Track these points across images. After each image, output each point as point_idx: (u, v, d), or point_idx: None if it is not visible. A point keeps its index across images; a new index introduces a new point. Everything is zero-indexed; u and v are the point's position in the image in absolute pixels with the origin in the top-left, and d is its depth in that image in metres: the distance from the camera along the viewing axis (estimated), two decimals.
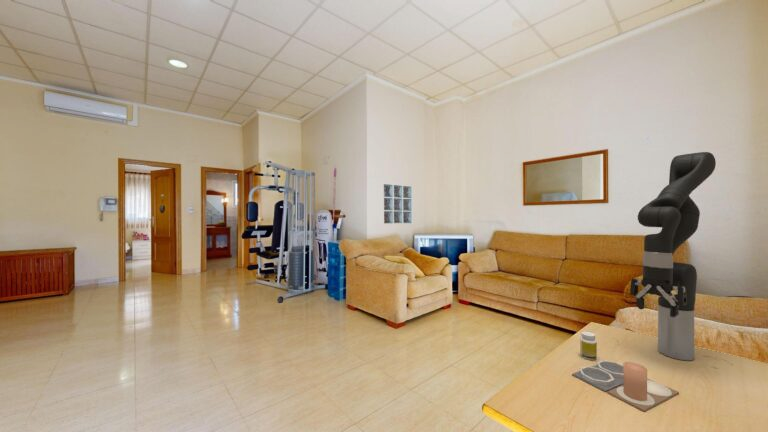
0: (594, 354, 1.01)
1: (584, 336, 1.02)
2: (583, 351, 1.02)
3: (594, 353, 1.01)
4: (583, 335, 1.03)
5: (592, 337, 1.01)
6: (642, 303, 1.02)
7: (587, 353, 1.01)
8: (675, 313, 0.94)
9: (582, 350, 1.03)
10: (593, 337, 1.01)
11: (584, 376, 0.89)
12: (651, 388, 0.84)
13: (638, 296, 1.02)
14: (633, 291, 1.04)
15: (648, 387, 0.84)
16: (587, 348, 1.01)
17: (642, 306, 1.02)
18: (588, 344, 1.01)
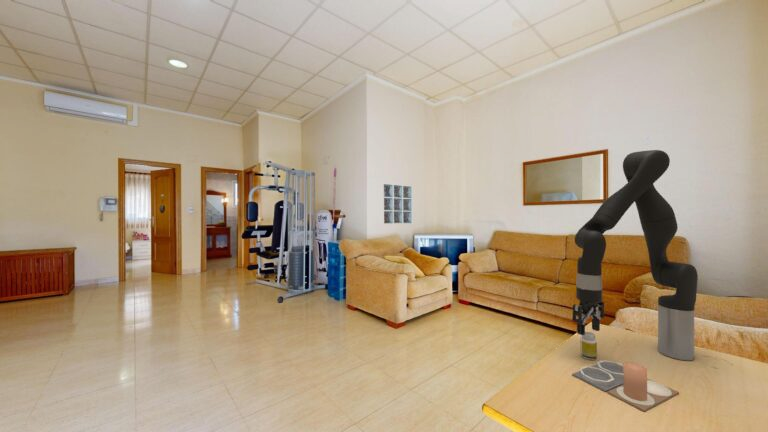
0: (594, 354, 1.01)
1: (584, 336, 1.02)
2: (583, 351, 1.02)
3: (594, 353, 1.01)
4: (583, 335, 1.03)
5: (592, 337, 1.01)
6: None
7: (587, 353, 1.01)
8: None
9: (582, 350, 1.03)
10: (593, 337, 1.01)
11: (584, 376, 0.89)
12: (651, 388, 0.84)
13: (584, 322, 1.00)
14: (581, 319, 0.99)
15: (648, 387, 0.84)
16: (587, 348, 1.01)
17: None
18: (588, 344, 1.01)
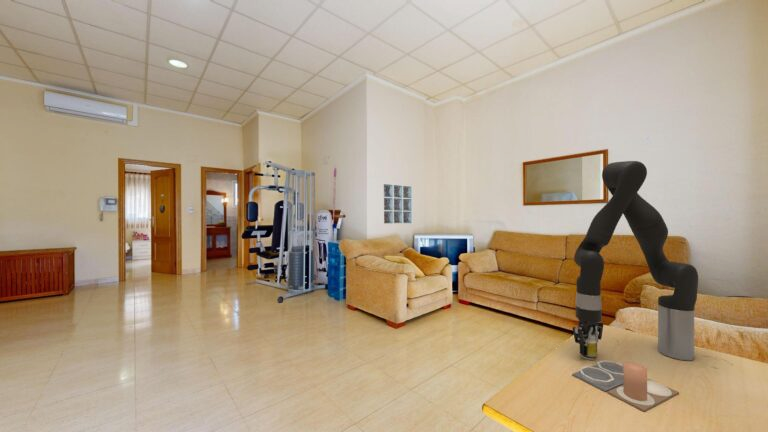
0: (594, 354, 1.01)
1: None
2: None
3: (594, 353, 1.01)
4: None
5: (592, 337, 1.01)
6: None
7: (587, 353, 1.01)
8: None
9: None
10: (593, 337, 1.01)
11: (584, 376, 0.89)
12: (651, 388, 0.84)
13: (586, 344, 1.01)
14: (583, 340, 1.00)
15: (648, 387, 0.84)
16: (587, 348, 1.01)
17: None
18: (588, 344, 1.01)
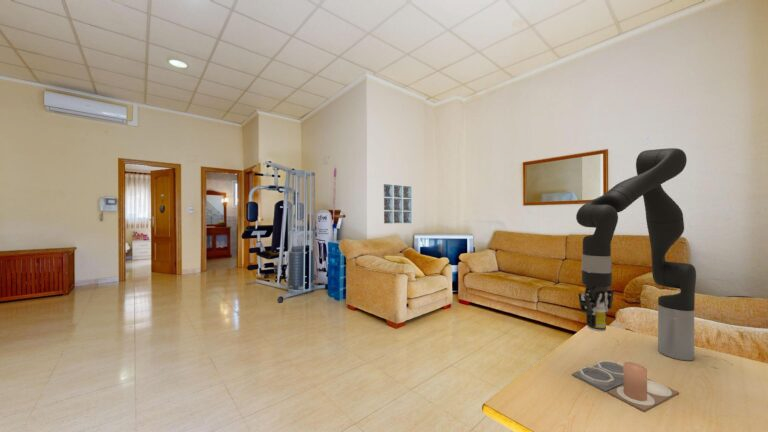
0: (603, 324, 0.87)
1: None
2: None
3: (603, 323, 0.87)
4: None
5: (601, 305, 0.87)
6: None
7: None
8: None
9: None
10: (602, 305, 0.88)
11: (584, 376, 0.89)
12: (651, 388, 0.84)
13: (594, 313, 0.87)
14: (590, 309, 0.86)
15: (648, 387, 0.84)
16: None
17: None
18: (596, 313, 0.88)
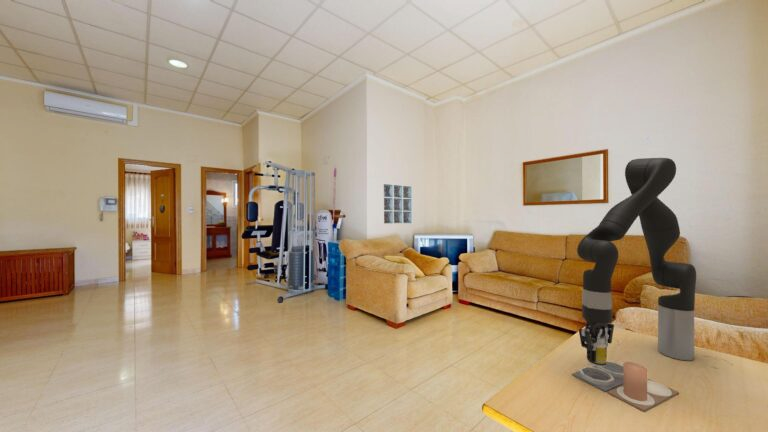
0: (604, 360, 0.87)
1: None
2: None
3: (604, 359, 0.87)
4: (591, 338, 0.89)
5: (601, 340, 0.87)
6: None
7: None
8: None
9: None
10: (602, 340, 0.88)
11: (584, 376, 0.89)
12: (651, 388, 0.84)
13: (595, 348, 0.87)
14: (591, 344, 0.86)
15: (648, 387, 0.84)
16: None
17: None
18: (596, 348, 0.88)
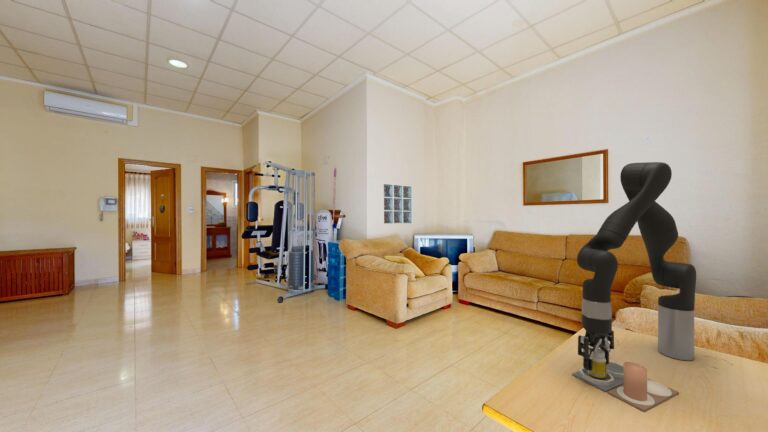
0: (603, 374, 0.87)
1: None
2: None
3: (603, 373, 0.87)
4: None
5: (601, 355, 0.88)
6: None
7: (595, 373, 0.88)
8: None
9: None
10: (602, 355, 0.88)
11: (584, 376, 0.89)
12: (651, 388, 0.84)
13: (591, 356, 0.87)
14: (588, 353, 0.86)
15: (648, 387, 0.84)
16: (595, 367, 0.88)
17: None
18: (596, 362, 0.88)
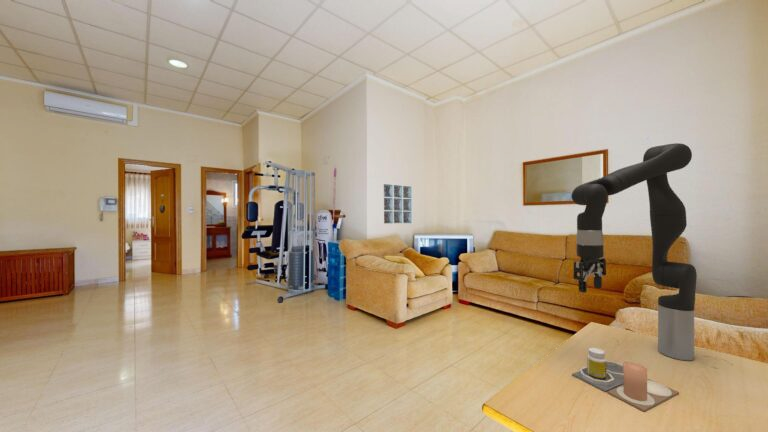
0: (604, 374, 0.87)
1: (592, 353, 0.89)
2: (591, 370, 0.89)
3: (603, 373, 0.87)
4: (591, 352, 0.89)
5: (601, 355, 0.88)
6: None
7: (595, 373, 0.88)
8: None
9: (590, 370, 0.89)
10: (602, 355, 0.88)
11: (584, 376, 0.89)
12: (651, 388, 0.84)
13: (585, 279, 0.96)
14: (582, 276, 0.96)
15: (648, 387, 0.84)
16: (595, 367, 0.88)
17: None
18: (596, 362, 0.88)
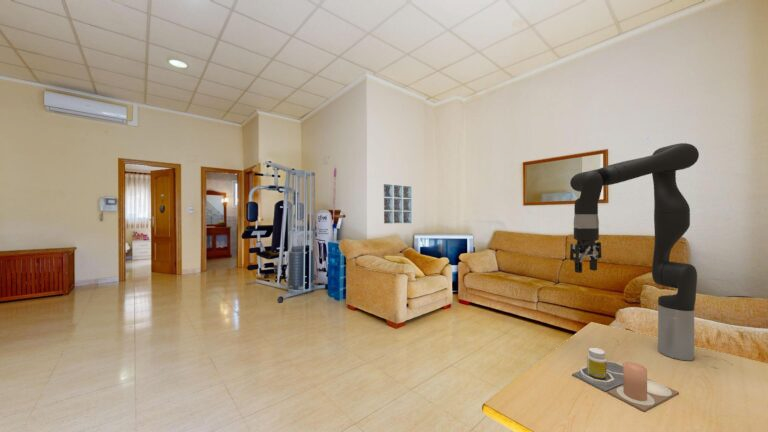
0: (604, 374, 0.87)
1: (592, 353, 0.89)
2: (591, 370, 0.89)
3: (604, 373, 0.87)
4: (591, 352, 0.89)
5: (601, 355, 0.88)
6: None
7: (595, 373, 0.88)
8: (596, 266, 1.07)
9: (590, 370, 0.89)
10: (602, 355, 0.88)
11: (584, 376, 0.89)
12: (651, 388, 0.84)
13: (581, 260, 1.02)
14: (578, 257, 1.02)
15: (648, 387, 0.84)
16: (595, 367, 0.88)
17: None
18: (596, 362, 0.88)
